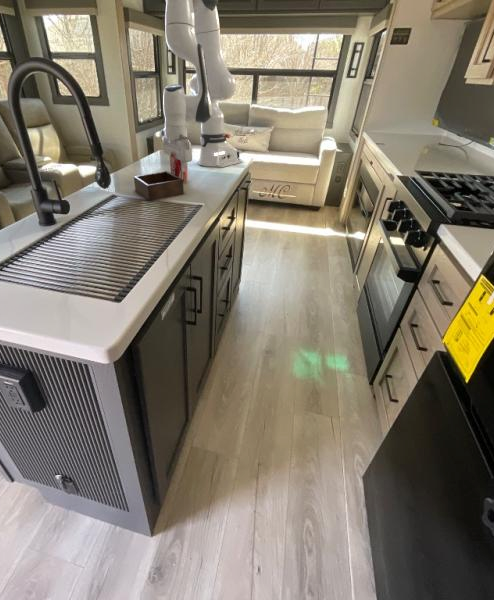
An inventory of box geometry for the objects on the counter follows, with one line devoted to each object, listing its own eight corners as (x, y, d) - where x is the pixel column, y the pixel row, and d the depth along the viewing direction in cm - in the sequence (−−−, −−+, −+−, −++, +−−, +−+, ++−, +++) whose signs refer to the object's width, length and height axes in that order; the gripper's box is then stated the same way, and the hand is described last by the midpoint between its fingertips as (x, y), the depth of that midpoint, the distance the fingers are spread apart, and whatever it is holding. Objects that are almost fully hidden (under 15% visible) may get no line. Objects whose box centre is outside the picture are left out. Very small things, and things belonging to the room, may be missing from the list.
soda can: (168, 181, 143) (165, 152, 136) (181, 178, 147) (179, 149, 140) (178, 185, 139) (176, 155, 132) (191, 181, 142) (189, 152, 135)
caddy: (168, 184, 139) (166, 171, 136) (183, 193, 129) (182, 179, 126) (135, 190, 133) (133, 176, 130) (149, 200, 123) (147, 185, 120)
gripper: (195, 136, 126) (196, 173, 134) (172, 129, 140) (174, 163, 148) (180, 137, 123) (182, 175, 131) (159, 130, 137) (161, 165, 145)
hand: (178, 169), depth 140 cm, fingers closed on soda can, 7 cm apart
